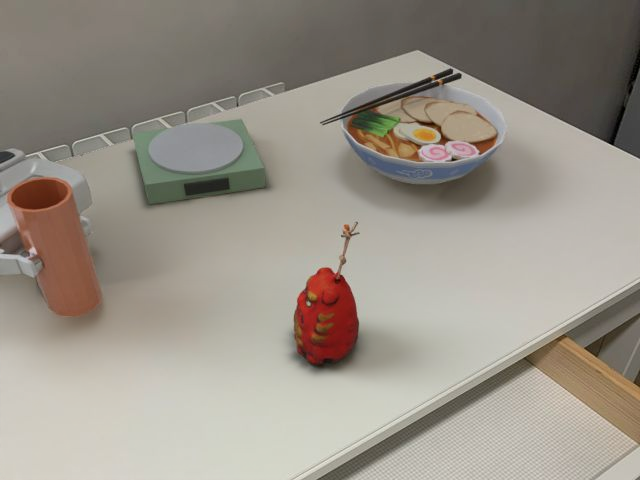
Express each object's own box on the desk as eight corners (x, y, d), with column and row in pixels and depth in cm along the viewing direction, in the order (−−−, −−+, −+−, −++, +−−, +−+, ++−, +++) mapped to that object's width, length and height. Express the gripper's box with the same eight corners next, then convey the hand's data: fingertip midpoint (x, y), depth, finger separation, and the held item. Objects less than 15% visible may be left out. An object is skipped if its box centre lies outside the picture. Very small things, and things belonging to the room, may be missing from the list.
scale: (149, 206, 89) (144, 182, 86) (136, 152, 97) (131, 129, 95) (265, 188, 92) (264, 165, 89) (243, 138, 100) (241, 115, 98)
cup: (48, 321, 72) (6, 215, 62) (46, 286, 75) (6, 181, 65) (104, 311, 73) (73, 206, 63) (100, 278, 77) (70, 173, 66)
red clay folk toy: (287, 326, 75) (283, 208, 63) (347, 317, 76) (355, 200, 64) (302, 375, 70) (301, 257, 58) (366, 364, 71) (378, 247, 59)
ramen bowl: (401, 238, 85) (409, 179, 79) (299, 160, 97) (298, 104, 90) (535, 178, 95) (551, 121, 88) (427, 114, 106) (435, 59, 100)
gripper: (-131, 233, 64) (-26, 279, 60) (24, 140, 76) (120, 174, 72) (-100, 285, 69) (-1, 331, 65) (41, 191, 80) (132, 225, 77)
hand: (64, 248), depth 68 cm, fingers closed on cup, 6 cm apart
